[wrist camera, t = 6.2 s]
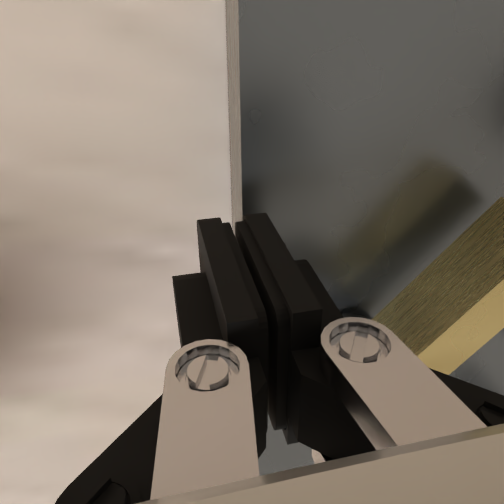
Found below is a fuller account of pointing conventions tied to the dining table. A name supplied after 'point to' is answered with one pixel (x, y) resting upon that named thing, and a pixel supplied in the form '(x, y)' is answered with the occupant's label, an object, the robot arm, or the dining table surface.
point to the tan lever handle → (453, 297)
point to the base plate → (367, 145)
